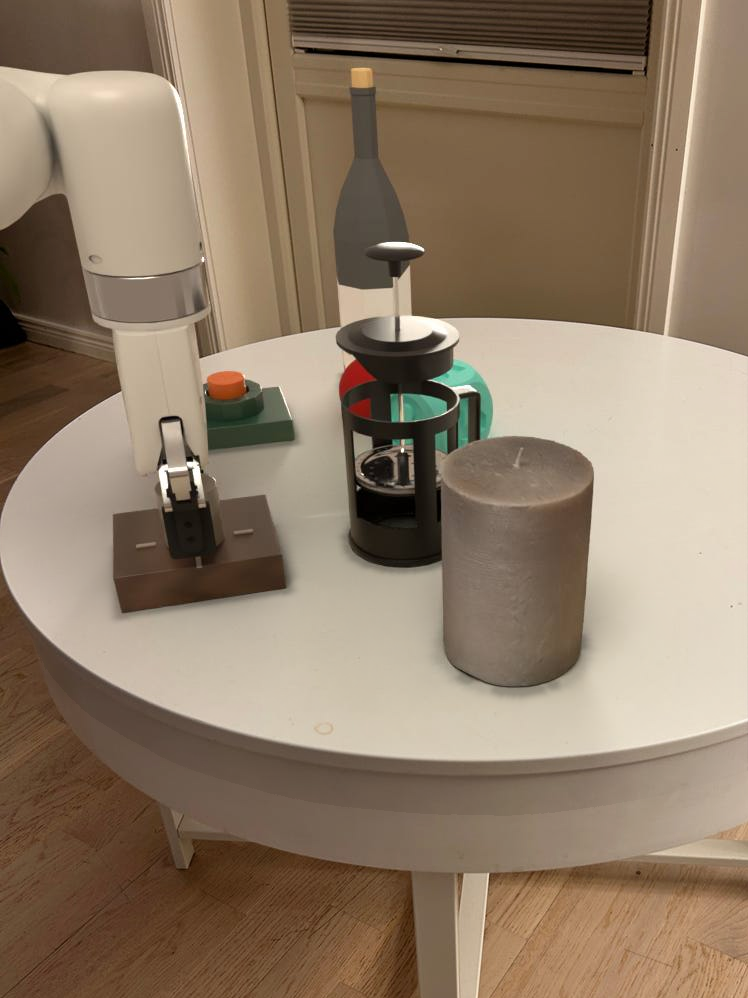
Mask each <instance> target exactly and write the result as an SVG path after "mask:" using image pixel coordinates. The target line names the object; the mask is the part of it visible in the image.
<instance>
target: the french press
mask: <svg viewBox="0 0 748 998" xmlns="http://www.w3.org/2000/svg"><path fill="white" fill-rule="evenodd" d="M425 253H426V252H425V249H424V248H423V247H421V246H420V245H417V244H413V243H410V242H409V243H402V242H389V243H381V244H376V245H373V246H370V247H368V248H367V249H365V251H364V255H365V256H366V257H368V258H371V259H374V260H380V261H388V271H389V276H390V277H393V290H394V313H395V316H381V317H373V318H368V319H363V320H359V321H356V322H353V323H350V324H348V325H346V326H344V327H342V328H341V327H340V329H338V331H337V332H336V334H335V343H336V345H337V346H338V348H339V349H341V350H344V351H345V352H346V353H348V354H349V355H353V356H354V357H355V358H356V360H357V361H358V362H359V363H360V364H361V365H362V366H363V368H364V369H365V370H366V371H367V372H368V373H369V374H371V375H372V376H373V377H374V378H375V379H376V380H372V381H368V382H364V383H361V384H358V385H356V386H354V387H352V388H350V389H349V390H347V391H346V392H345V393H344V394H343V395H342V398H341V401H340V410H341V419H342V433H343V447H344V457H345V470H346V482H347V483H346V484H347V495H348V497H347V498H348V513H349V526H350V528H349V531H348V535H347V536H348V543H349V546H350V547H351V549H352V551H353V552H354V553H355V554H356V555H357V556H359V557H361V558H362V559H364V560H365V561H368V562H371V563H374V564H377V565H381V566H388V567H395V568H397V567H399V568H401V567H402V568H409V567H419V566H425V565H430V564H433V563H436V562H439V561H442V525H441V476H440V474H439V473H438V472H439V468H440V466H439V464H440V462H441V461H443V460H444V459H445V458H446V457H447V456H448V455H449V454H450V453H451V452H453V451H454V450H456V449H458V420H459V416H460V399H465V398H468V444H469V443H471V442H474V441H478V440H480V432H481V395H480V393H479V392H478V391H476V390H475V389H474V388H473V387H471V386H461V387H456V388H451V387H450V386H448V385H446V384H443V383H441V382H437V381H433V380H430V379H433V378H436V377H439V376H441V375H443V374H445V373H447V372H448V371H449V370H451V368H452V367H453V362H454V359H455V358H454V348H455V347H456V346H457V345H458V344H459V342H460V332H459V329H457V328H456V327H455V326H454V325H452V324H450V323H448V322H446V321H443V320H440V319H436V318H432V317H427V316H420V315H419V316H418V315H412V316H402V315H399V294H398V277H400V276H402V261H407V260H410V261H412V260H416V259H420V258H421V257H423V256H424V255H425ZM390 394H398V408H399V422H392V419H391V397H390ZM402 394H418V395H425V396H431V397H434V398H438V399H441V400H443V401H445V402H447V412H445V413H443V414H441V415H438V416H435V417H432V418H428V419H423V420H417V421H406V422H404V421H403V395H402ZM368 398H369V399H370V416H371V419H368V418H364V417H361V416H358V415H356V414H354V413H352V412H351V411H349V410H348V409H349V408H350V407H351V406H353V405H354V404H356V403H358V402H360V401H362V400H365V399H368ZM446 430H447V453H446V452H443V451H441V450H439V449H436V448H435V435H436V434H438V433H441V432H444V431H446ZM354 432H355V433H357V434H358V435H359V434H360V435H362V436H366V437H370V438H371V446H372V448H371V449H368V450H366V451H363V452H362V453H360V454H358V455H357V456H356V453H355V441H354ZM392 439H395V440H400V444H397V445H393V440H392ZM404 439H413V444H404ZM358 487H359V488H358ZM402 515H414V517H415V526H411V527H410V526H408V527H395V526H394V527H393V526H384V525H380V524H377V523H376V522H378V521H380V520H382V519H386V518H389V517H394V516H402Z"/></svg>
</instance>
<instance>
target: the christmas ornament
mask: <svg viewBox="0 0 748 998" xmlns="http://www.w3.org/2000/svg"><path fill="white" fill-rule="evenodd" d="M372 380H376V379H375V378H374V377H373V376H372V375H371V374H369V373H368V372H367V371H366V370H365V369H364V368H363V366H362V365H361V364H360V363H359V362H358V361H357V360H356V359H355V360H354V361H353V362H351V363H350V364H349V365H348V367H347V368H346V369H345V370H344V371H343V372H342V374H341V377H340V380H339V384H338V396H339V400H340V402H341V398H342V395H343V394H344V393H345V392H346V391H347V390H349V389H350V388H352V387H354V386H356V385H358V384H361V383H364V382H368V381H372ZM348 410H349V411H351V412H352V413H354V414H356V415H358V416H361V417H364V418H368V419H371V416H370V399H369V398H368V399H365V400H362V401H360V402H358V403H356V404H354V405H353V406H351V407H350V408H349V409H348Z"/></svg>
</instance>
